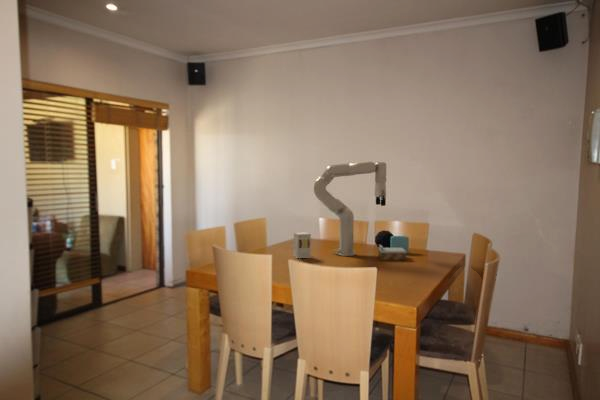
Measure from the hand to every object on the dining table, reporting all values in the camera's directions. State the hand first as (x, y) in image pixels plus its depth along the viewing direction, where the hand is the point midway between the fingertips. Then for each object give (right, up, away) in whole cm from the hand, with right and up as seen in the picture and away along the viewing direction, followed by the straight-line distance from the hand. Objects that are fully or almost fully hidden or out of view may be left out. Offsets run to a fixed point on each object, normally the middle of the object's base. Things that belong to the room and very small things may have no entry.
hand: (380, 205), depth 290 cm
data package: (+15, -35, +9) cm, 39 cm away
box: (+6, -36, -10) cm, 37 cm away
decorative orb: (+7, -34, +22) cm, 41 cm away
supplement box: (-54, -36, -5) cm, 65 cm away
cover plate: (+6, -32, -10) cm, 34 cm away
